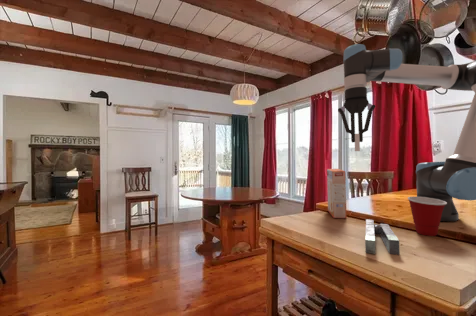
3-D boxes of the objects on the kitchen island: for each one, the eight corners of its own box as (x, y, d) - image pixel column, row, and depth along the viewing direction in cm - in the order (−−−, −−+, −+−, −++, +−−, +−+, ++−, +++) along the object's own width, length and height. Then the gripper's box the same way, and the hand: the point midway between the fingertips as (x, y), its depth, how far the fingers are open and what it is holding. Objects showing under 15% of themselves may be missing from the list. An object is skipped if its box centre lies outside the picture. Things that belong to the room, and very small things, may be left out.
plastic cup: (451, 240, 77) (450, 203, 77) (409, 235, 83) (408, 200, 82) (444, 230, 86) (444, 196, 86) (407, 226, 92) (406, 195, 92)
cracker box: (347, 218, 105) (346, 170, 105) (332, 218, 107) (331, 171, 106) (340, 210, 119) (339, 168, 119) (327, 210, 120) (326, 168, 120)
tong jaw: (373, 230, 89) (373, 219, 89) (375, 253, 70) (375, 240, 69) (366, 229, 90) (365, 219, 90) (365, 252, 71) (365, 239, 71)
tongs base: (385, 231, 88) (385, 220, 88) (399, 254, 69) (399, 240, 69) (370, 230, 90) (369, 219, 89) (379, 252, 71) (378, 238, 71)
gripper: (373, 88, 93) (375, 150, 94) (336, 92, 98) (338, 151, 98) (376, 83, 86) (378, 150, 87) (336, 88, 91) (338, 151, 91)
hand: (357, 150), depth 92 cm, fingers closed
